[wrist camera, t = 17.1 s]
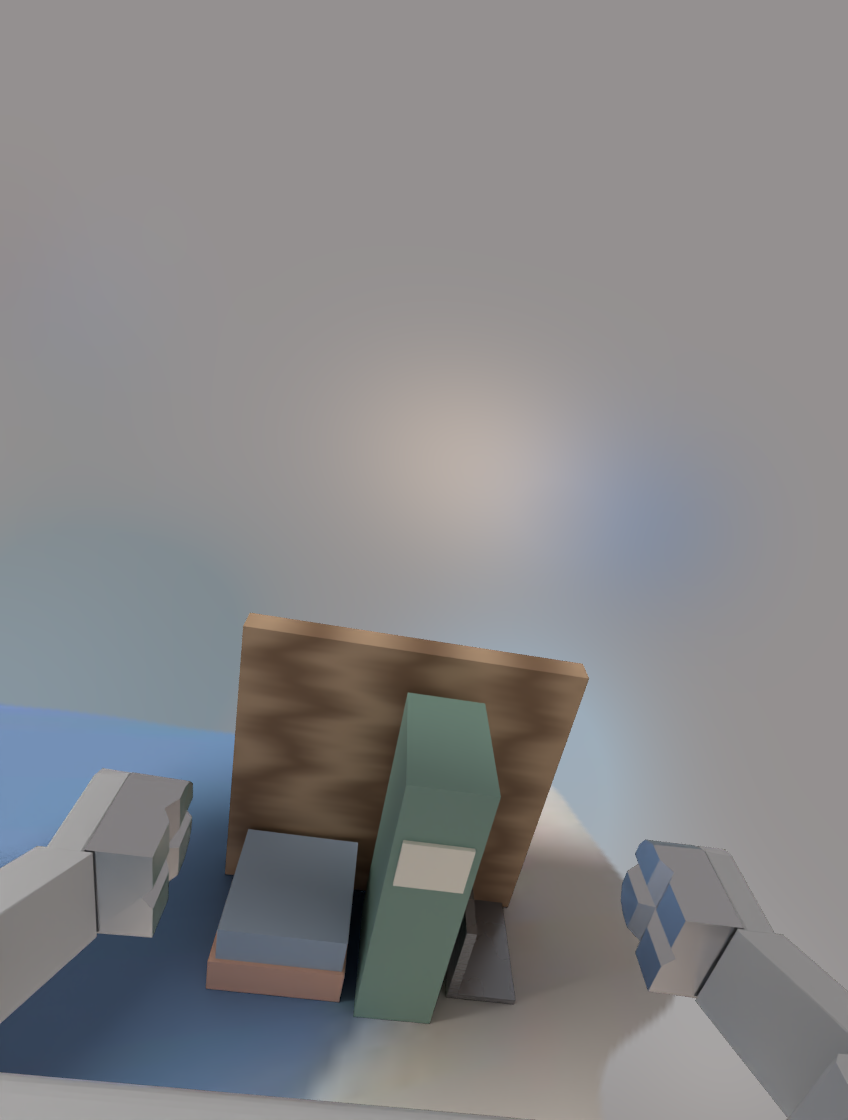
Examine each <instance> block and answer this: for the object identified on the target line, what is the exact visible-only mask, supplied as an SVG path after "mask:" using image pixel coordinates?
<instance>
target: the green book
mask: <svg viewBox="0 0 848 1120" xmlns="http://www.w3.org/2000/svg"><path fill="white" fill-rule="evenodd" d="M500 798H501V795H500V789H499V783H498V777H497V771H496V765H495V759H494V753H493V747H492V741H491V735H490V729H489V723H488V717H487V711H486V705H485V703H478V702H471V701H464V700H457V699H450V698H443V697H436V696H429V695H422V694H415V693H408V694H407V698H406V703H405V708H404V712H403V717H402V722H401V727H400V731H399V736H398V741H397V745H396V750H395V755H394V760H393V764H392V769H391V774H390V778H389V783H388V788H387V792H386V797H385V802H384V807H383V811H382V816H381V821H380V825H379V830H378V835H377V840H376V844H375V849H374V854H373V858H372V863H371V868H370V873H369V877H368V882H367V887H366V891H365V896H364V901H363V906H362V918H361V930H360V942H359V955H358V967H357V979H356V991H355V1003H354V1015H353V1017H363V1018H374V1019H384V1020H395V1021H405V1022H416V1023H426V1024H430V1020H431V1017H432V1014H433V1011H434V1008H435V1005H436V1001H437V998H438V995H439V992H440V989H441V986H442V982H443V979H444V976H445V973H446V970H447V967H448V963H449V960H450V957H451V954H452V951H453V948H454V944H455V941H456V938H457V935H458V932H459V929H460V925H461V922H462V919H463V916H464V913H465V909H466V906H467V903H468V900H469V897H470V894H471V890H472V887H473V884H474V881H475V878H476V875H477V871H478V868H479V865H480V862H481V859H482V856H483V852H484V849H485V846H486V843H487V840H488V837H489V833H490V830H491V827H492V824H493V821H494V818H495V814H496V811H497V808H498V805H499V802H500Z"/></svg>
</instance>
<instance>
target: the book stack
mask: <svg viewBox="0 0 848 1120" xmlns="http://www.w3.org/2000/svg"><path fill="white" fill-rule="evenodd" d="M357 850H358V843H357V842H349V841H341V840H332V839H324V838H316V837H308V836H300V835H292V834H284V833H276V832H268V831H260V830H252V829H248V832H247V835H246V839H245V842H244V845H243V848H242V851H241V855H240V858H239V861H238V864H237V867H236V871H235V874H234V877H233V880H232V884H231V887H230V890H229V893H228V897H227V900H226V903H225V906H224V910H223V913H222V916H221V919H220V923H219V926H218V929H217V932H216V935H215V939H214V942H213V945H212V948H211V952H210V955H209V958H208V962H207V978H206V989H215V990H225V991H235V992H244V993H254V994H264V995H274V996H284V997H293V998H303V999H313V1000H323V1001H333V1002H339V1000H340V995H341V990H342V985H343V981H344V976H345V966H346V957H347V947H348V938H349V928H350V919H351V909H352V900H353V890H354V881H355V871H356V859H357Z"/></svg>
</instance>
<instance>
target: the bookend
mask: <svg viewBox="0 0 848 1120" xmlns="http://www.w3.org/2000/svg"><path fill="white" fill-rule="evenodd" d="M445 975H446V997H449V998H459V999H469V1000H478V1001H488V1002H497V1003H507V1004H514V1003H515V994H514V986H513V979H512V972H511V964H510V957H509V950H508V942H507V935H506V928H505V920H504V913H503V906H502V903H499V902H491V901H482V900H474V893H473V887H472V890H471V894H470V897H469V900H468V903H467V906H466V909H465V913H464V916H463V919H462V922H461V925H460V929H459V932H458V935H457V938H456V941H455V944H454V948H453V951H452V954H451V957H450V960H449V963H448V967H447V970H446V973H445Z"/></svg>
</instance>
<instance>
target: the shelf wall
mask: <svg viewBox="0 0 848 1120" xmlns="http://www.w3.org/2000/svg"><path fill="white" fill-rule="evenodd" d="M242 637H243V638H242V651H241V664H240V677H239V691H238V705H237V717H236V731H235V744H234V758H233V771H232V785H231V798H230V812H229V826H228V839H227V853H226V866H225V874H228V875H234V874H235V871H236V867H237V864H238V861H239V858H240V855H241V851H242V848H243V845H244V842H245V839H246V835H247V832H248V829H252V830H260V831H268V832H276V833H284V834H292V835H300V836H308V837H316V838H324V839H332V840H341V841H349V842H357V843H358V850H357V859H356V871H355V881H354V889H356V890H364V891H366V887H367V882H368V877H369V873H370V868H371V863H372V858H373V854H374V849H375V844H376V840H377V835H378V830H379V825H380V821H381V816H382V811H383V807H384V802H385V797H386V792H387V788H388V783H389V778H390V774H391V769H392V764H393V760H394V755H395V750H396V745H397V741H398V736H399V731H400V727H401V722H402V717H403V712H404V708H405V703H406V698H407V694H408V693H415V694H422V695H429V696H436V697H443V698H450V699H457V700H464V701H471V702H478V703H485V705H486V711H487V717H488V723H489V729H490V735H491V741H492V747H493V753H494V759H495V765H496V771H497V777H498V783H499V789H500V795H501V798H500V802H499V805H498V808H497V811H496V814H495V818H494V821H493V824H492V827H491V830H490V833H489V837H488V840H487V843H486V846H485V849H484V852H483V856H482V859H481V862H480V865H479V868H478V871H477V875H476V878H475V881H474V884H473V893H474V900H482V901H491V902H499V903H502V906H503V907H508V905H509V902H510V899H511V896H512V894H513V891H514V888H515V885H516V882H517V880H518V877H519V874H520V871H521V868H522V865H523V863H524V860H525V857H526V854H527V851H528V849H529V846H530V843H531V840H532V837H533V835H534V832H535V829H536V826H537V823H538V821H539V818H540V815H541V812H542V809H543V806H544V804H545V801H546V798H547V795H548V792H549V790H550V787H551V784H552V781H553V778H554V775H555V773H556V770H557V767H558V764H559V761H560V759H561V756H562V753H563V750H564V747H565V745H566V742H567V739H568V736H569V733H570V731H571V728H572V725H573V722H574V719H575V717H576V714H577V711H578V708H579V705H580V702H581V700H582V697H583V694H584V691H585V688H586V686H587V683H588V680H589V677H588V675H587V673H586V670H585V668H584V666H583V664H580V663H573V662H567V661H560V660H554V659H547V658H540V657H534V656H527V655H521V654H515V653H508V652H502V651H495V650H489V649H481V648H476V647H469V646H463V645H456V644H450V643H443V642H437V641H430V640H424V639H417V638H410V637H404V636H398V635H391V634H385V633H378V632H372V631H365V630H359V629H352V628H346V627H339V626H332V625H326V624H320V623H313V622H306V621H300V620H293V619H287V618H281V617H274V616H268V615H261V614H255V613H250V614H249V616H248V618H247V620H246V622H245V624H244V626H243V636H242Z"/></svg>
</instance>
